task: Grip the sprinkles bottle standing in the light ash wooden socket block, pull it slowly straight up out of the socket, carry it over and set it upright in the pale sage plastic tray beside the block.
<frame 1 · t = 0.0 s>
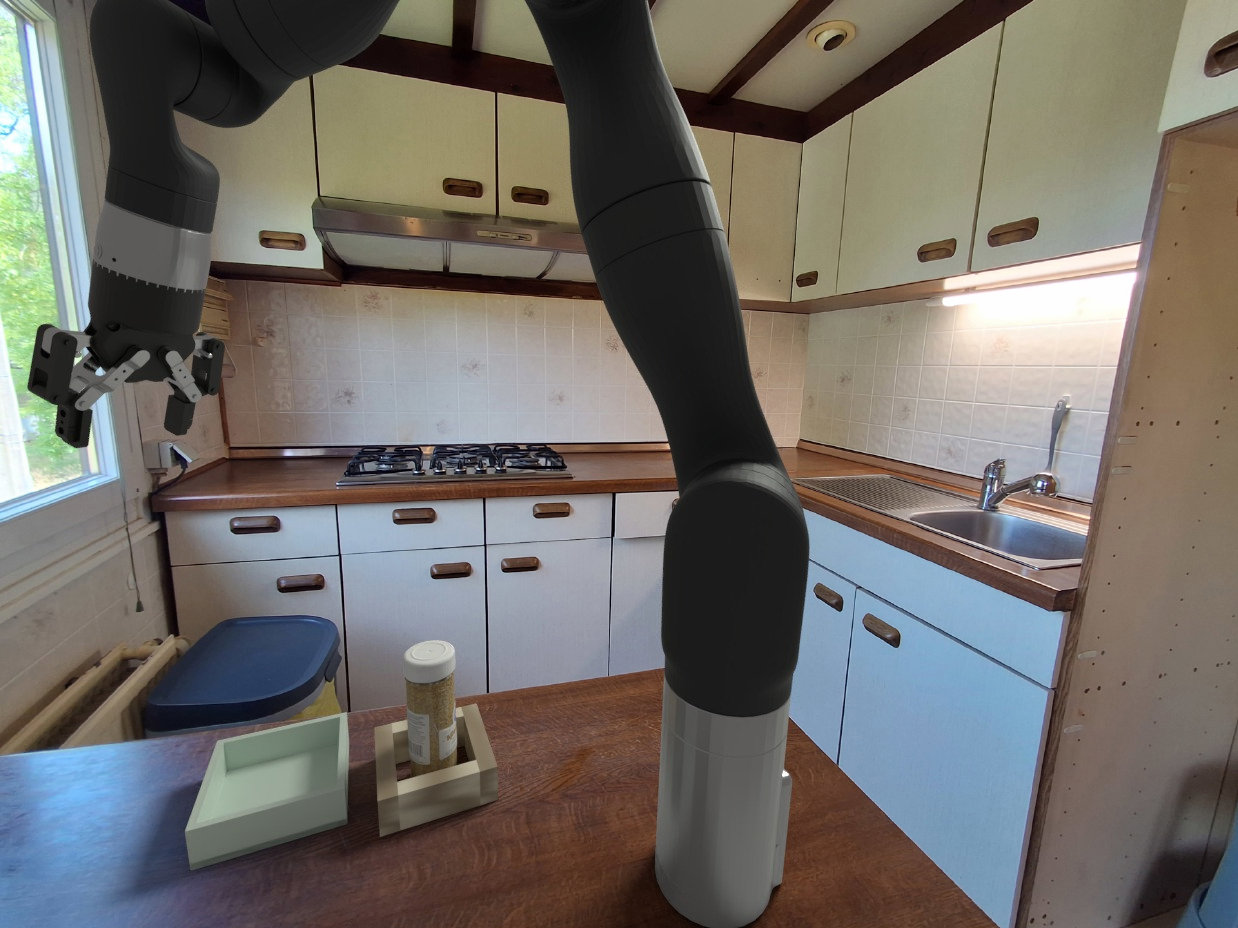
hand: (128, 437, 52), 31 cm above the table, tool tilted 20°, fingers open, 8 cm apart
socket block: (434, 777, 53), on the table
sprinkles bottle: (434, 779, 53), resting in socket block
tray: (281, 797, 50), on the table
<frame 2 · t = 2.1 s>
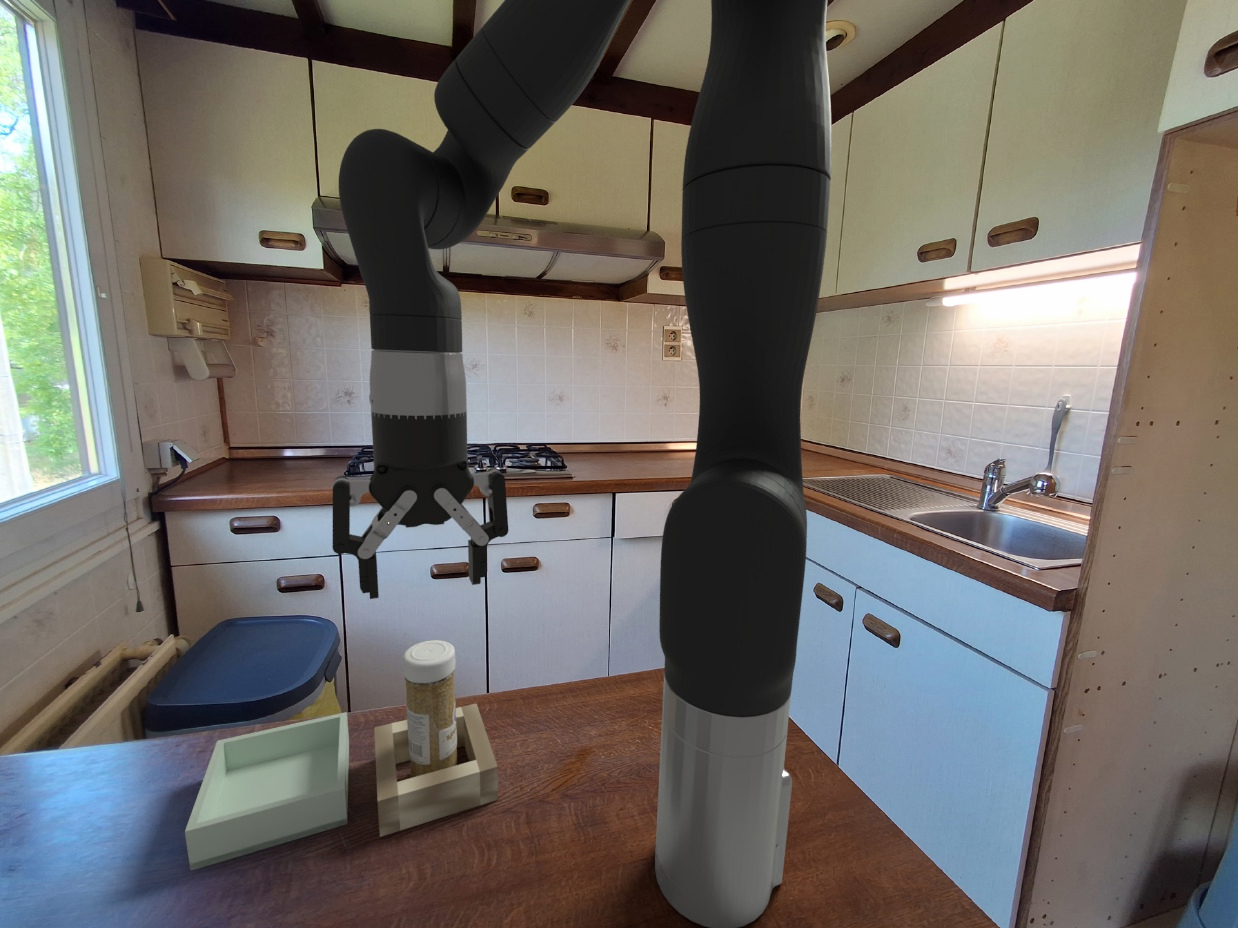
hand: (426, 587, 49), 20 cm above the table, tool pointing down, fingers open, 8 cm apart
nothing on the table moved.
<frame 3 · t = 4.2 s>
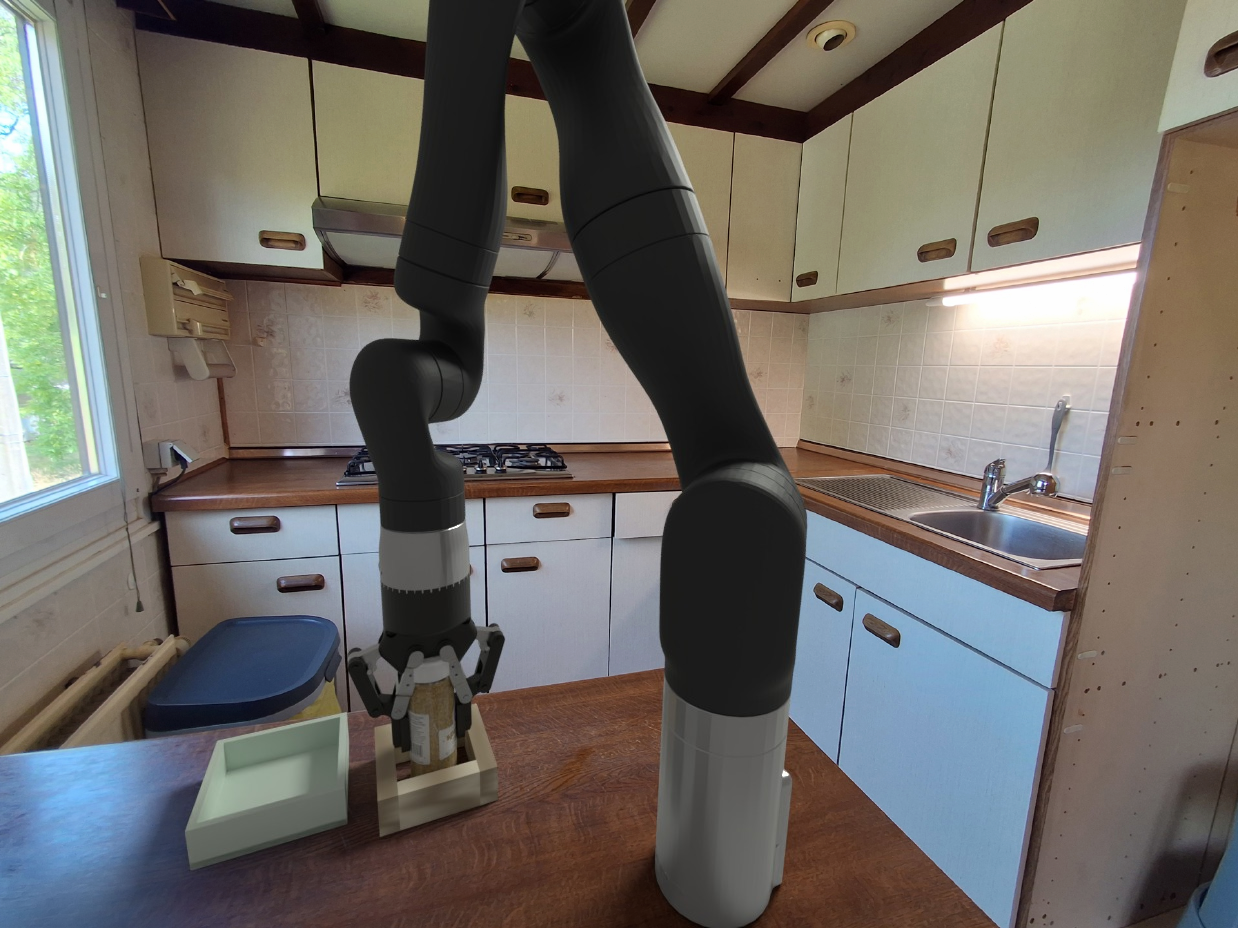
hand: (433, 738, 52), 4 cm above the table, tool pointing down, fingers closed on sprinkles bottle, 4 cm apart
sprinkles bottle: (434, 779, 53), resting in socket block, touching gripper
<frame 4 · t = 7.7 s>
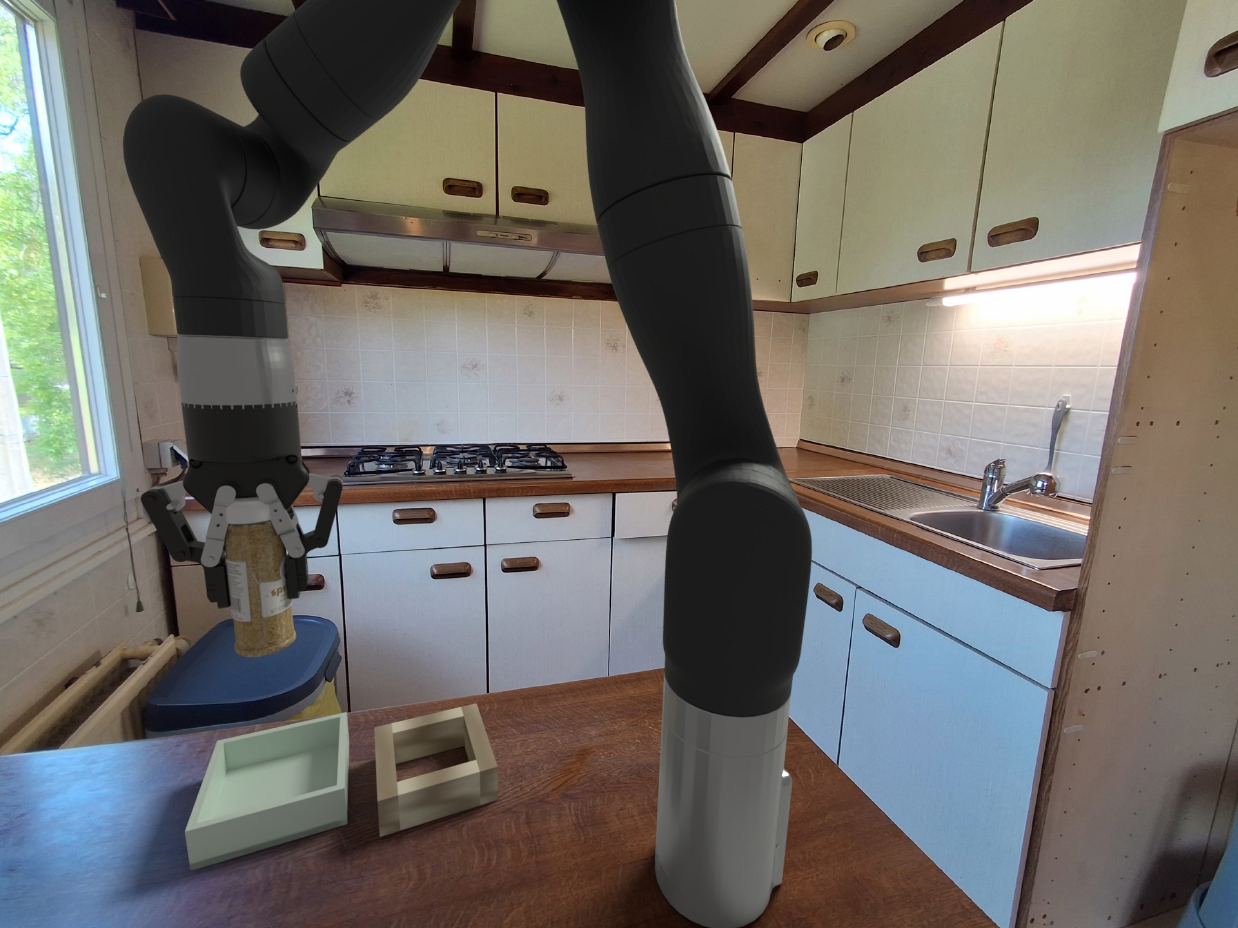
hand: (261, 598, 46), 19 cm above the table, tool pointing down, fingers closed on sprinkles bottle, 4 cm apart
sprinkles bottle: (266, 647, 47), point 15 cm above the table, touching gripper
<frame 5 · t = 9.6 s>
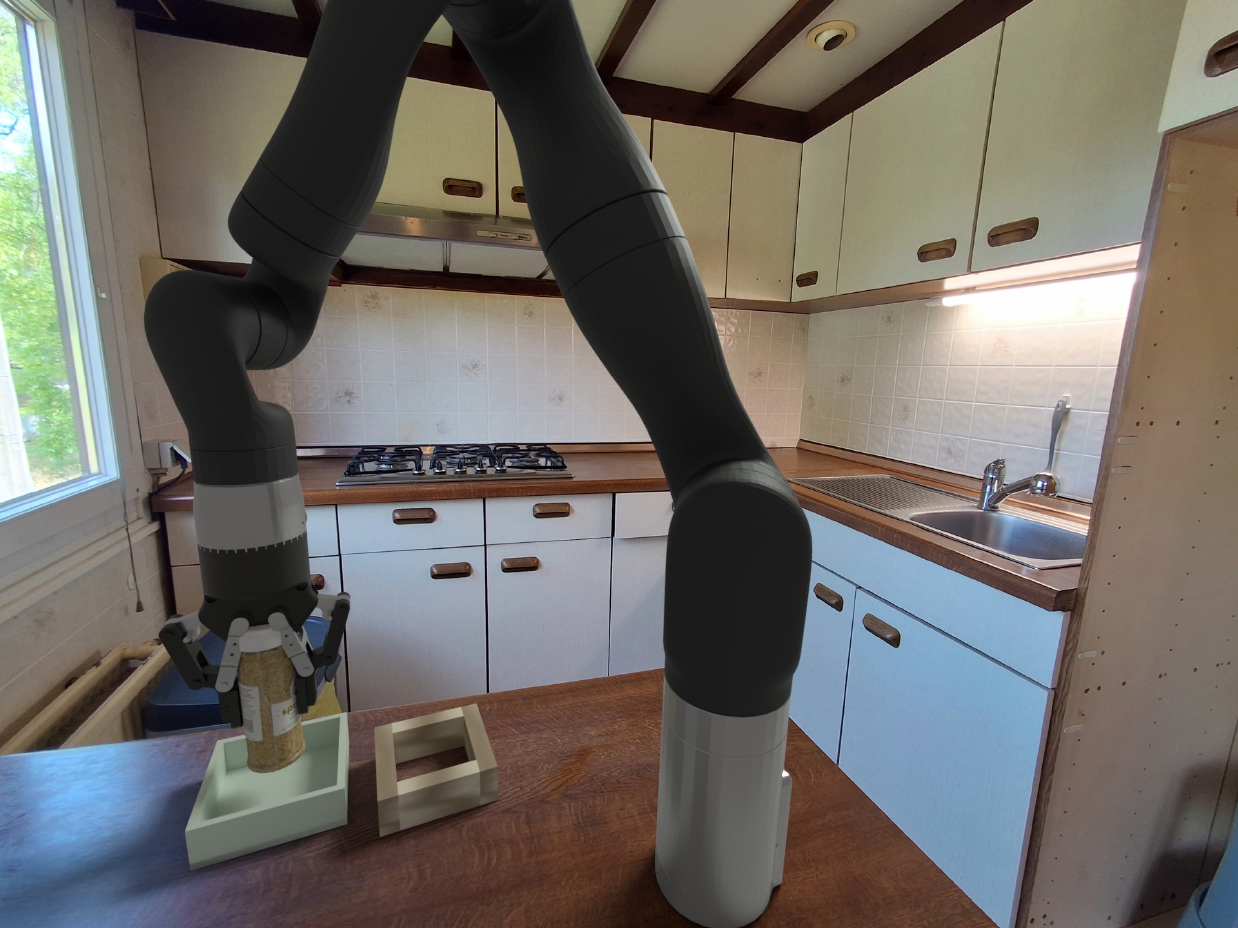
hand: (272, 714, 48), 8 cm above the table, tool pointing down, fingers closed on sprinkles bottle, 4 cm apart
sprinkles bottle: (276, 758, 49), point 4 cm above the table, touching gripper
when the fingers open (6 cm above the table, at t = 11.0 s): sprinkles bottle drops 1 cm, resting on tray.
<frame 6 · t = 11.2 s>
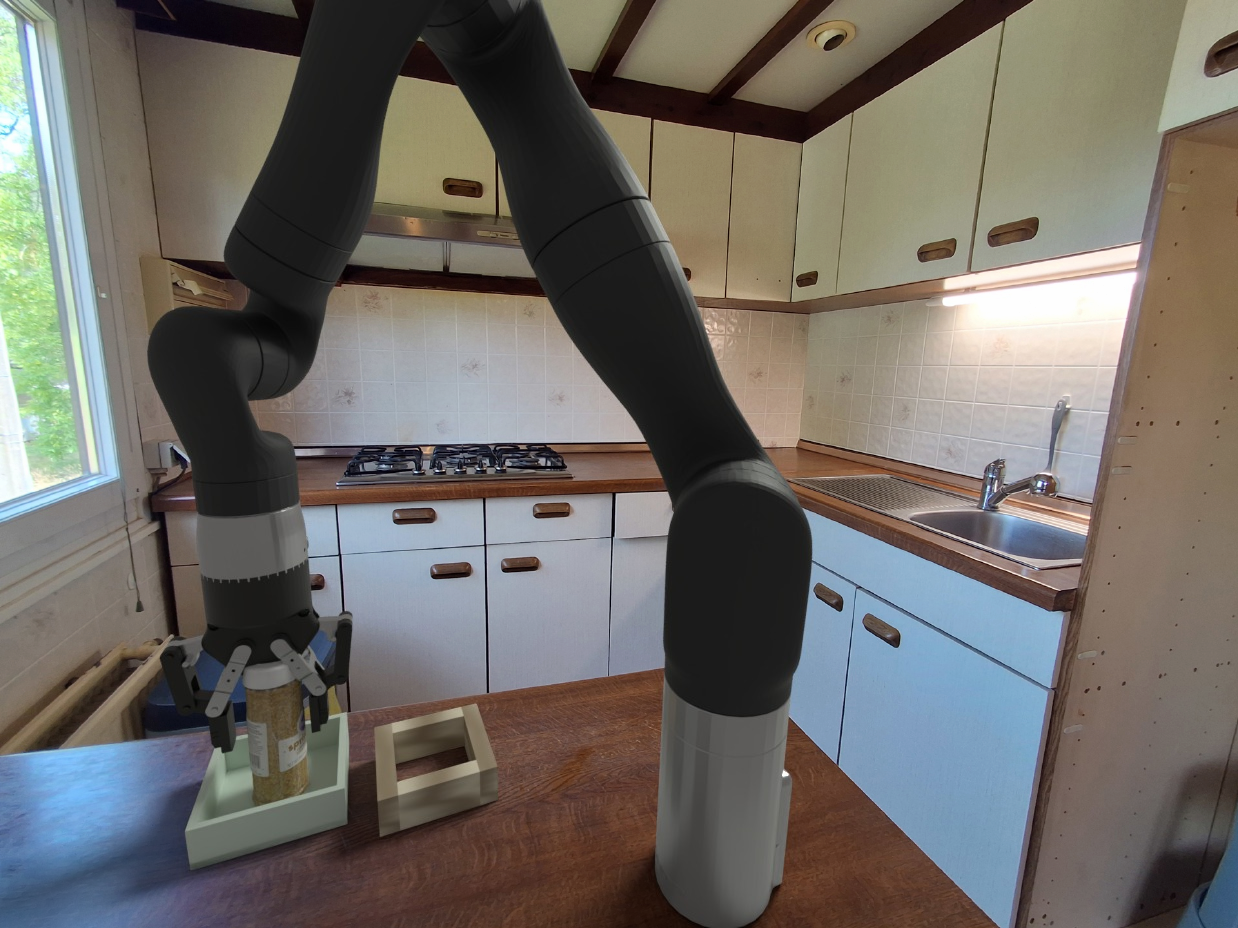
hand: (274, 735, 49), 6 cm above the table, tool pointing down, fingers open, 6 cm apart
sprinkles bottle: (281, 792, 50), resting on tray
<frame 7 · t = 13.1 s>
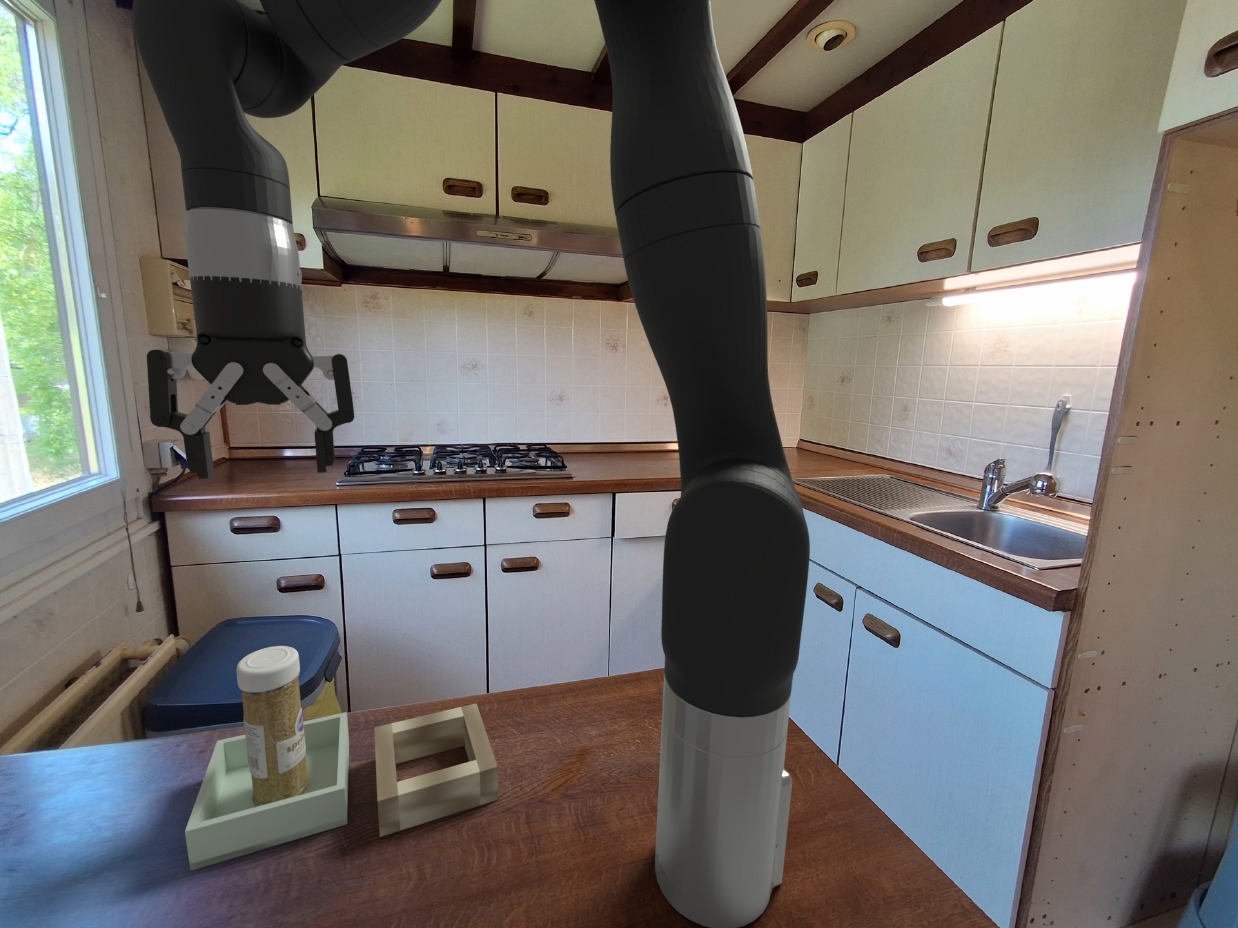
hand: (267, 474, 47), 29 cm above the table, tool pointing down, fingers open, 8 cm apart
nothing on the table moved.
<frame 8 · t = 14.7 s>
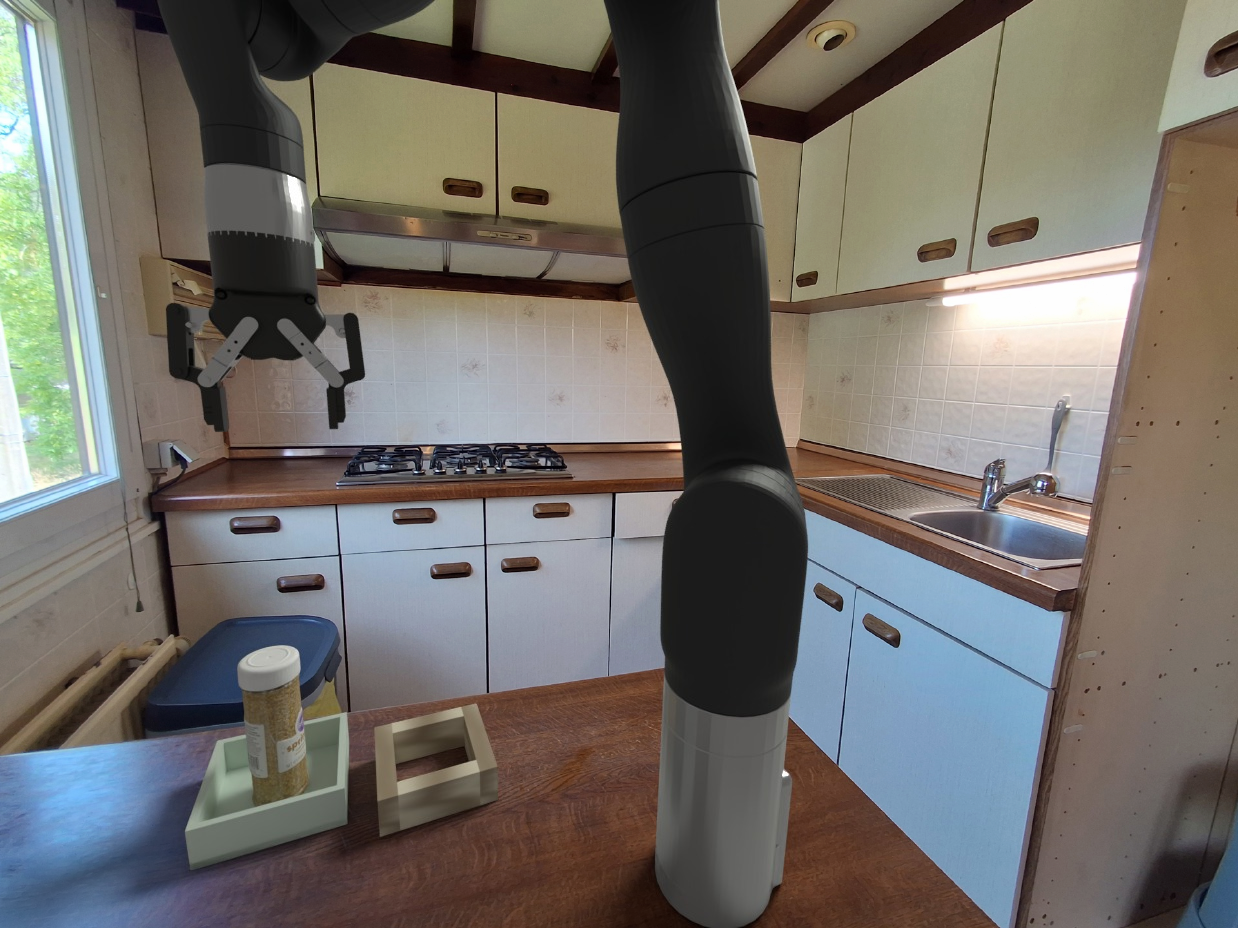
hand: (280, 429, 49), 33 cm above the table, tool pointing down, fingers open, 8 cm apart
nothing on the table moved.
at the end: sprinkles bottle 0.1 cm off-centre on the tray, point 0.4 cm above the tray's base; sprinkles bottle tilted 0°; the gripper is holding nothing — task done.
